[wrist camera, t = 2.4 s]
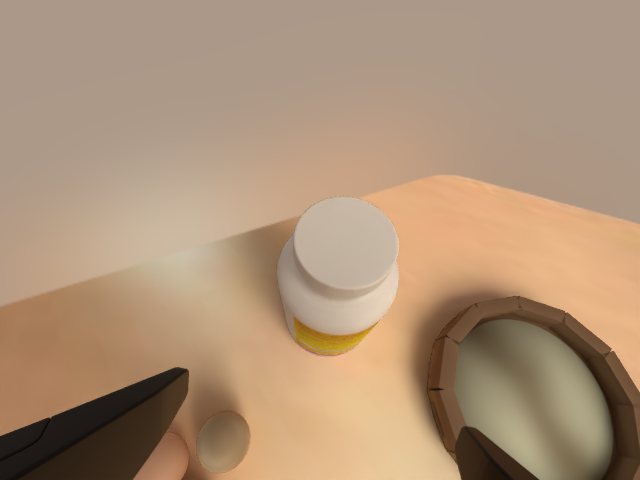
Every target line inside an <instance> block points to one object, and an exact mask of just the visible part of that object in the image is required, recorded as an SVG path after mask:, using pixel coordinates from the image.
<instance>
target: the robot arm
mask: <svg viewBox="0 0 640 480" xmlns="http://www.w3.org/2000/svg"><path fill="white" fill-rule="evenodd" d="M188 383H189V371H188V370H187V369H185V368H180V367H176V368H173V369H170V370H168V371H165V372H163V373H160V374H158V375H155V376H153V377H150V378H148V379H145V380H143V381H140V382H138V383H135V384H133V385H130V386H128V387H125V388H123V389H120V390H117V391H115V392H112V393H110V394H107V395H105V396H102V397H100V398H97V399H95V400H92V401H90V402H87V403H85V404H82V405H80V406H77V407H75V408H72V409H70V410H67V411H65V412H62V413H60V414H57V415H55V416H52V417H51V419H50V418H46V419H43V420H41V421H38V422H36V423H33V424H31V425H28V426H26V427H23V428H20V429H18V430H15V431H12V432H10V433H7V434H5V435H2V436H0V480H133V479H134V478H135V476H136V475H137V473H138V472H139V471H140V469H141V468H142V466H143V465H144V464H145V462H146V461H147V459H148V458H149V457H150V455H151V454H152V452H153V451H154V450H155V448H156V447H157V445H158V444H159V442H160V441H161V439H162V438H163V436H164V434H165V433H166V431H167V429H168V428H169V426H170V424H171V422H172V421H173V419H174V417H175V415H176V414H177V412H178V410H179V408H180V407H181V405H182V403H183V401H184V400H185V398H186V396H187V393H188ZM454 450H455V456H456V460H457V464H458V468H459V472H460V475H461V479H462V480H539V479H538V478H537V477H536V476H534V475H533V474H532V473H531V472H530V471H528V470H527V469H526V468H525V467H523V466H522V465H521V464H520V463H518V462H517V461H516V460H515V459H514V458H512V457H511V456H510V455H509V454H507V453H506V452H505V451H504V450H503V449H501V448H500V447H499V446H498V445H496V444H495V443H494V442H493V441H491V440H490V439H489V438H488V437H487V436H485V435H484V434H483V433H482V432H480V431H479V430H478V429H476V428H474V427H469V426H463V427H462V428H461V430H460V432H459V435H458V438H457V440H456V443H455V449H454Z"/></svg>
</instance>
